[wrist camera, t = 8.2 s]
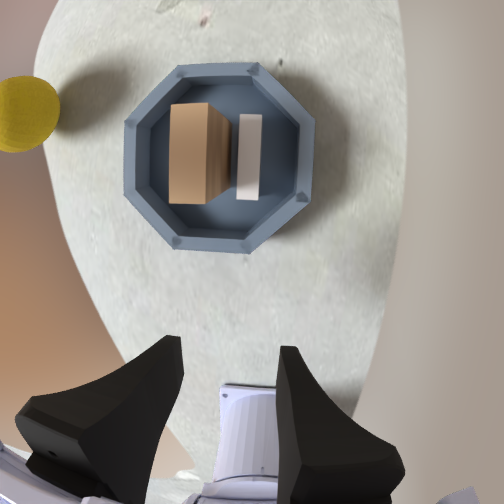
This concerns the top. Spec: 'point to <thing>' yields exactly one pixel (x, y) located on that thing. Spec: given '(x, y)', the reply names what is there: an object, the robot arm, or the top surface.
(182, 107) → the brown wooden plank
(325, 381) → the top surface
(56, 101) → the lemon
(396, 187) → the top surface
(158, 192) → the octagonal blue tray
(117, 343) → the top surface
